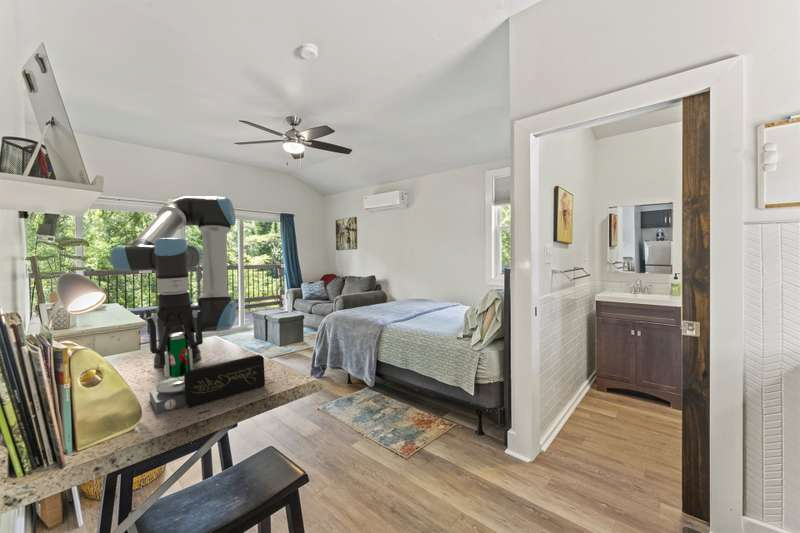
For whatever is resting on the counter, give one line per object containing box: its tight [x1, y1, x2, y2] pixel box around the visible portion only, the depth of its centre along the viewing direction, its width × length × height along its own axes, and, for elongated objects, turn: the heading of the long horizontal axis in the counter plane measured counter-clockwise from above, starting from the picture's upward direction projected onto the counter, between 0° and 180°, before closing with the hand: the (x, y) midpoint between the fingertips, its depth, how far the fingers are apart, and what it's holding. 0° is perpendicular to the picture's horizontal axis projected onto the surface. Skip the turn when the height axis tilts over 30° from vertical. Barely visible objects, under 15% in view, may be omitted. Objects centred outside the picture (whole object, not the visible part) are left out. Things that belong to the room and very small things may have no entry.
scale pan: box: [155, 376, 185, 394], centre depth 98 cm, size 11×11×2 cm
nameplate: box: [184, 354, 266, 409], centre depth 100 cm, size 21×2×10 cm, turn 132°
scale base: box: [149, 388, 187, 415], centre depth 98 cm, size 12×13×3 cm
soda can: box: [167, 332, 189, 378], centre depth 97 cm, size 5×5×12 cm
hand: (179, 372), depth 98 cm, fingers closed on soda can, 5 cm apart
